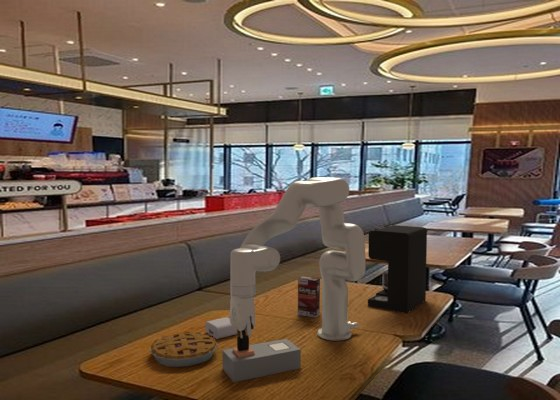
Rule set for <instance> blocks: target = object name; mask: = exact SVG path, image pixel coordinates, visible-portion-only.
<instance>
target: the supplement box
mask: <svg viewBox="0 0 560 400" xmlns="http://www.w3.org/2000/svg"><path fill="white" fill-rule="evenodd" d="M320 291H321V278H320V277H311V276H299V278H298V279H297V316H305V317H312V318H317V317H318V316H319V315H320V311H321V310H320V308H321V307H320V304H321V303H320V300H321V299H320V298H321V296H320V295H321V294H320V293H321V292H320Z"/></svg>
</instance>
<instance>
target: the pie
mask: <svg viewBox="0 0 560 400" xmlns="http://www.w3.org/2000/svg"><path fill="white" fill-rule="evenodd" d="M216 349H218V344H217V340H216V338H214V337H212V336H211V335H209V334H207V333H206V334H205V333H203V334H202V333H201V332H197V331H196V332H193V333H192V332H190V331H185V332H184V333H172V335H163V336H162V337H161V338H160V339H155V340H154V342H153V343H151V345H150V353H151V354H152V355H153V357H154V359H155V360H156V361H157V362H158V363H159V364H160V365H161V366H162V365H163V366H165V367H172V368H173V367H174V368H180V367H189V366H190V367H191V366H194V365H197V364H198V365H199V364H202V363H205V362H207V361H209V360H211V358H212V356H213V355H214V352H215V350H216Z"/></svg>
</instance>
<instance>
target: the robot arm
mask: <svg viewBox="0 0 560 400" xmlns="http://www.w3.org/2000/svg"><path fill="white" fill-rule="evenodd" d="M349 195H350V186H349V183H348V182H347V180H345V179H344V178H341V177H326V176H325V177H324V176H321V177H310V178H308V179H306V180H298V181H297V180H296V181H294V182H292V183H290V184H289V186H288V187H287V189H286V190H285V192H284V194H283V196H282V197H281V198H280V200H279V202H278V203H277V205H276V206H275V209H274V210H273V212H272V213H271V214H270V215H269V216H267V217H266V218H264V219H263V220H261V222H260V223H258V224H257V225H255V226H254V227H253V228H251V230H250V231H249V232H248V234H247V235H246V237H245V238H244V240H243V242H241V243H242V244H241V245H240V247H238V248H234V249H233V250H231V251H230V254H229V255H230V277H229V278H230V279H229V280H230V281H229V282H230V301H229V302H230V303H229V304H230V305H229V318H230V323H231V324H232V325H233V326H234V327H235V328H236V329H237V334H236V336H237V337H236V342H237V343H236V345H237V346H236V347H237V349H238V350H239V351H244V350H249V345H250V336H252V330H254V329H255V327H256V309H255V308H256V306H255V305H256V304H255V297H256V273H257V272H271V271H273V270H275V269H276V268H277V267H278V266H279V265H280V263H281V255H280V252H279V251H278V249H276V248H274V247H271V246H267V245H265V244H266V243H267V242H268V240H270V239H272V238H274V237H275V236H278V235H281V234H285V233H288V232H290V231H291V230H293V229H294V228H295V227H296V226H297V224H298V222H299V220H300V218H301V216H302V215H303V213H304V212H305V210H306V208H308V207H310V208H318V210H319V217H320V227H321V228H320V229H321V230H320V232H321V240H322V244H323V245H324V246H325V247H327V248H331V249H335V250H326V251H325V252H323V253H322V254H321V256H320V258H319V261H318V262H319V264H318V265H319V271H320V276H321V278H320V279H321V328H319V329H318V330H317V335H318V337H319V338H321V339H323V340H327V341H332V342H333V341H345V340H349V339H351V337H352V335H353V334H352V333H353V332H352V331H351V330H352V329H355V328H359V322H351V321H348V316H349V315H348V313H349V312H348V308H349V307H348V306H349V305H348V303H349V301H348V296H349V291H348V290H349V289H348V284H347V282H346V280H348V281H354V282H355V281H360V280H362V279H363V278H364V276H365V273H366V269H367V268H366V265H367V261H366V259H367V258H366V242H365V235H364V234H365V233H364V231H363V229H362V228H361V227H360V226H359V225H357V224H355V223H348V222H345V215H344V208H343V204H342V203H343V202H344V201H345V200H347V198H349V197H348V196H349ZM336 249H337V250H336ZM338 250H339V251H338ZM341 250H344V251H341Z"/></svg>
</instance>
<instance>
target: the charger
mask: <svg viewBox="0 0 560 400" xmlns="http://www.w3.org/2000/svg"><path fill="white" fill-rule="evenodd" d="M205 333H206V334H207V333H208V334H207V335H209V336H210V337H212V336H213V338H214V339H215V340H219V339H223V338H227V337H230V336H234V335H235V336H236V335H237V329H236V328H235V327H234V326H233V325H232V324H231V323H230V317H228V316H227V317H221V318H218V319H212V320H208V321H205Z"/></svg>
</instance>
